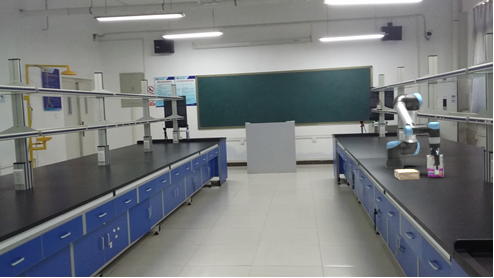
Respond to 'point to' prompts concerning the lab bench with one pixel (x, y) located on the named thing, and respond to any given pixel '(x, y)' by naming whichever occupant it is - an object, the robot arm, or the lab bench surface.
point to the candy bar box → (432, 168)
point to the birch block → (406, 174)
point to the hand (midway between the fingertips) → (435, 173)
